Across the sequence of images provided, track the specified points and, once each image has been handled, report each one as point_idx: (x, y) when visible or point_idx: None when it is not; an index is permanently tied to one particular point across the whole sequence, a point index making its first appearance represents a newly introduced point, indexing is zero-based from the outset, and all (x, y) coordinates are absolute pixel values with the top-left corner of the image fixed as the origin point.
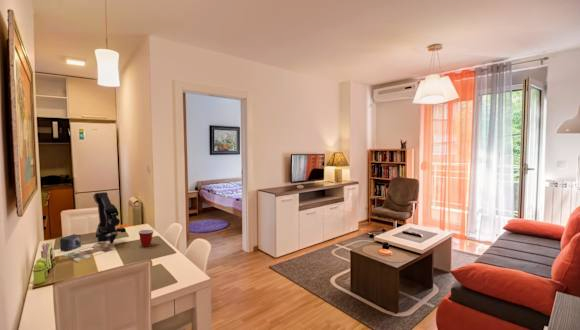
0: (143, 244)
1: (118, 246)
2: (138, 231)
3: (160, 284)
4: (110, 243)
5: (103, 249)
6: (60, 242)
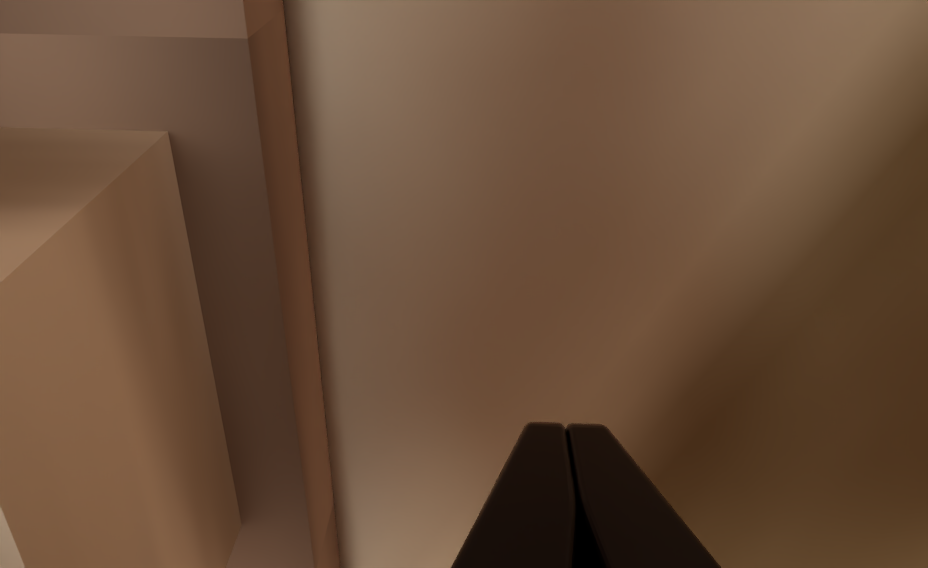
0: None
1: (813, 404)
2: None
3: None
4: (524, 428)
5: None
6: None
